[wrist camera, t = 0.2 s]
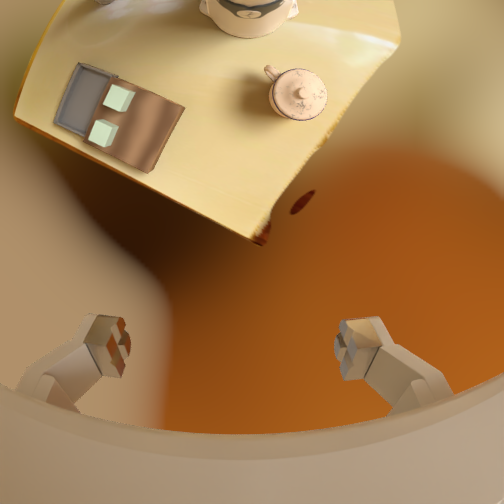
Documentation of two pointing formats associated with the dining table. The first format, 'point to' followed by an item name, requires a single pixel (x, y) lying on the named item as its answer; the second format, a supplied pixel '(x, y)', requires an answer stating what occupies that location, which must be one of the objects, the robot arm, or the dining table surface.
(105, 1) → the lotion bottle
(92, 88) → the charcoal tray
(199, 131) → the dining table surface
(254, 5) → the robot arm
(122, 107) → the mint block
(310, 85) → the teacup with lid
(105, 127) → the mint block
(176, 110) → the walnut bench
